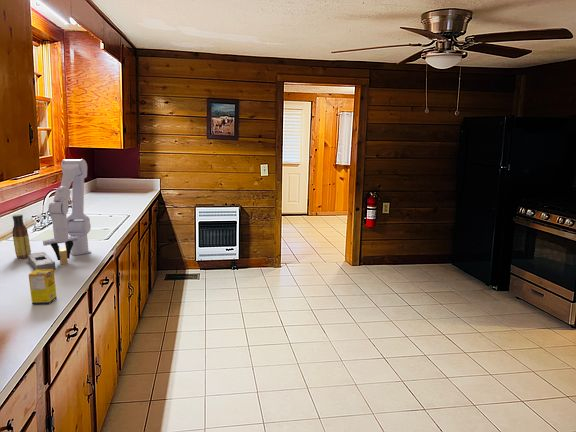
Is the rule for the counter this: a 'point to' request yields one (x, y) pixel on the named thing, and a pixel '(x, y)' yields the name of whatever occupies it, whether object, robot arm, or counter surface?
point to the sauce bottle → (20, 237)
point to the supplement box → (42, 286)
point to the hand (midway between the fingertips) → (63, 258)
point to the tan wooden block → (63, 256)
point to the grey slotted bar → (41, 261)
